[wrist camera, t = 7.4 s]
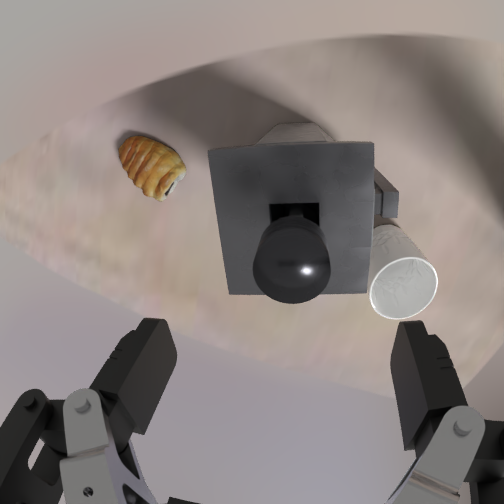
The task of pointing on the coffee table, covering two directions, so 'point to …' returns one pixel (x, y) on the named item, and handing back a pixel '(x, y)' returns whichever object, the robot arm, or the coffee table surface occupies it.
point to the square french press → (300, 200)
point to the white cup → (399, 275)
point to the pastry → (151, 166)
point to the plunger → (292, 254)
